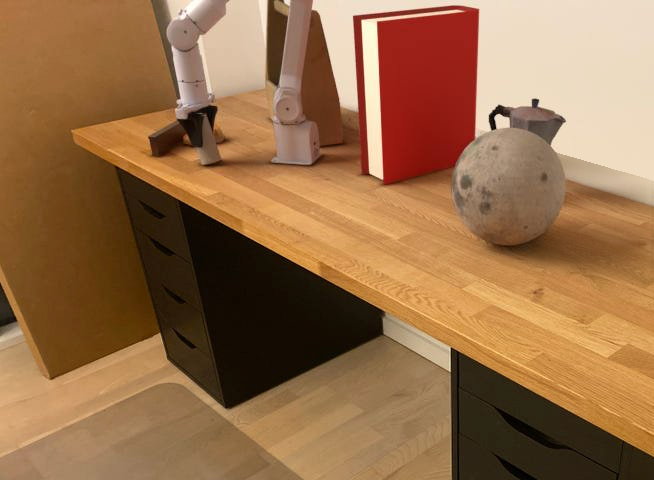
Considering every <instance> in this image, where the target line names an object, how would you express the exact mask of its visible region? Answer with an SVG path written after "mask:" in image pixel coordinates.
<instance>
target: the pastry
mask: <svg viewBox="0 0 654 480" xmlns="http://www.w3.org/2000/svg"><path fill="white" fill-rule="evenodd" d="M213 136H214V138H215V141H216V144H220V143H222V142H224V139H225V133H224V132H223V130H222V129H221V127H220V126H219V124H217V123H215V122H214V130H213ZM182 143H183V144H186V145H188V146H192V144H191V142H190V140H189V138H188V135H187V134H186V135H184V137H183V142H182Z"/></svg>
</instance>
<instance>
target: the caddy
mask: <svg viewBox="0 0 654 480" xmlns="http://www.w3.org/2000/svg"><path fill="white" fill-rule="evenodd" d="M289 7H290V5H288V4H287V3H286V2H285V0H266V20H265V21H266V23H265V27H266V29H265V64H264V85H265V89H266V91H265V92H266V97H267V104H268V111H269V118H270V120H272V121H273V117H274V116H275V115H274V112H273V102H274V101H273V94H274V91H275V89H276V88H277V87H278V85H279V81H280V75H281V68H282V61H283V53H284V45H285V38H286V30H287V22H288V15H289ZM329 52H330V51H329V47H328V44H327V39H326V35H325V30H324V27H323V23H322V18H321V15H320V13H319V12H318V10H316V9H312V11H311V18H310V25H309V32H308V39H307V46H306V52H305V59H304V66H303V73H302V81H301V92H300V94H301V98H302V101H301V104H302V113H303V115H305V118H306V120H308V121H313V122H315V123H316V124H317V127H318V134H319V145H320V147H325V146H330V145H336V144H343V142H344V141H343V140H344V139H343V138H344V137H343V124H342V113H341V102H340V96H339V92H338V88H337V83H336V78H335V74H334V71H333V66H332V61H331V56H330V53H329Z"/></svg>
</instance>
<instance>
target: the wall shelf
mask: <svg viewBox="0 0 654 480" xmlns="http://www.w3.org/2000/svg"><path fill="white" fill-rule="evenodd" d="M186 134H187V133H186V132H185V130H184V128H183V127H182V125H181V124H180V123H179V122H178V121H177V119H176V120H175V121H173V122H170V123H169V124H168V125H165V126H164V127H162V128H160V129H158V130H157V131H155V132H153V133H151V134H150V135H148V136H147V139H148V141H149V145H150V150H151V154H152V157H160V156H162V155H164V154H165V153H167V152H169V151H170V150H172V149H173V148H174V147H177V146H178V145H180V144H181V143H183V137H184V135H186Z"/></svg>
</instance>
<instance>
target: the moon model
mask: <svg viewBox="0 0 654 480" xmlns="http://www.w3.org/2000/svg"><path fill="white" fill-rule="evenodd" d="M450 185H451V186H450V189H451V191H450V192H451V198H452V199H451V200H452V203H453V206H454V210H455V212H456V214H457V216H458V218H459V219H460V221H461V223H462V224H463V225H464V226H465V227H466V228H467V229H468V230H469V231H470V233H472V234H473V235H474V236H476V237H477V238H479V239H481V240H483V241H485V242H487V243H490V244H494V245H498V246H517V245H522V244H526V243H527V242H530V241H533V240H535V239H536V238H538V237H539V236H541V235H542V234H544V233H545V232H546V231H547V230H548V229H549V228H550V227H551V226H552V225H553V224H554V222H555V221H556V220H557V218H558V216H559V215H560V213H561V211H562V208H563V205H564V202H565V197H566V192H567V180H566V173H565V170H564V166H563V163H562V161H561V159H560V157H559V155H558V154H557V152H556V150H554V148H553V147H552V145H551V146H550V145H549V144H548V143H547V142H546V141H545V140H544V139H542V138H541V137H539V136H538V135H536V134H534V133H532V132H530V131H527V130H523V129H519V128H510V127H501V128H497V129H495V130H492V131H491V130H489V131H487V132H484V133H482V134H480V135H479V136H478V137H475V140H474V141H472V142H471V143H470V144H469V145H468V146H467V147H466V148H465V150H464V151H463V152H462V154H461V155H460V157H459V159H458V161H457V163H456V165H455V166H454V168H453V171H452V175H451V184H450Z"/></svg>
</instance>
